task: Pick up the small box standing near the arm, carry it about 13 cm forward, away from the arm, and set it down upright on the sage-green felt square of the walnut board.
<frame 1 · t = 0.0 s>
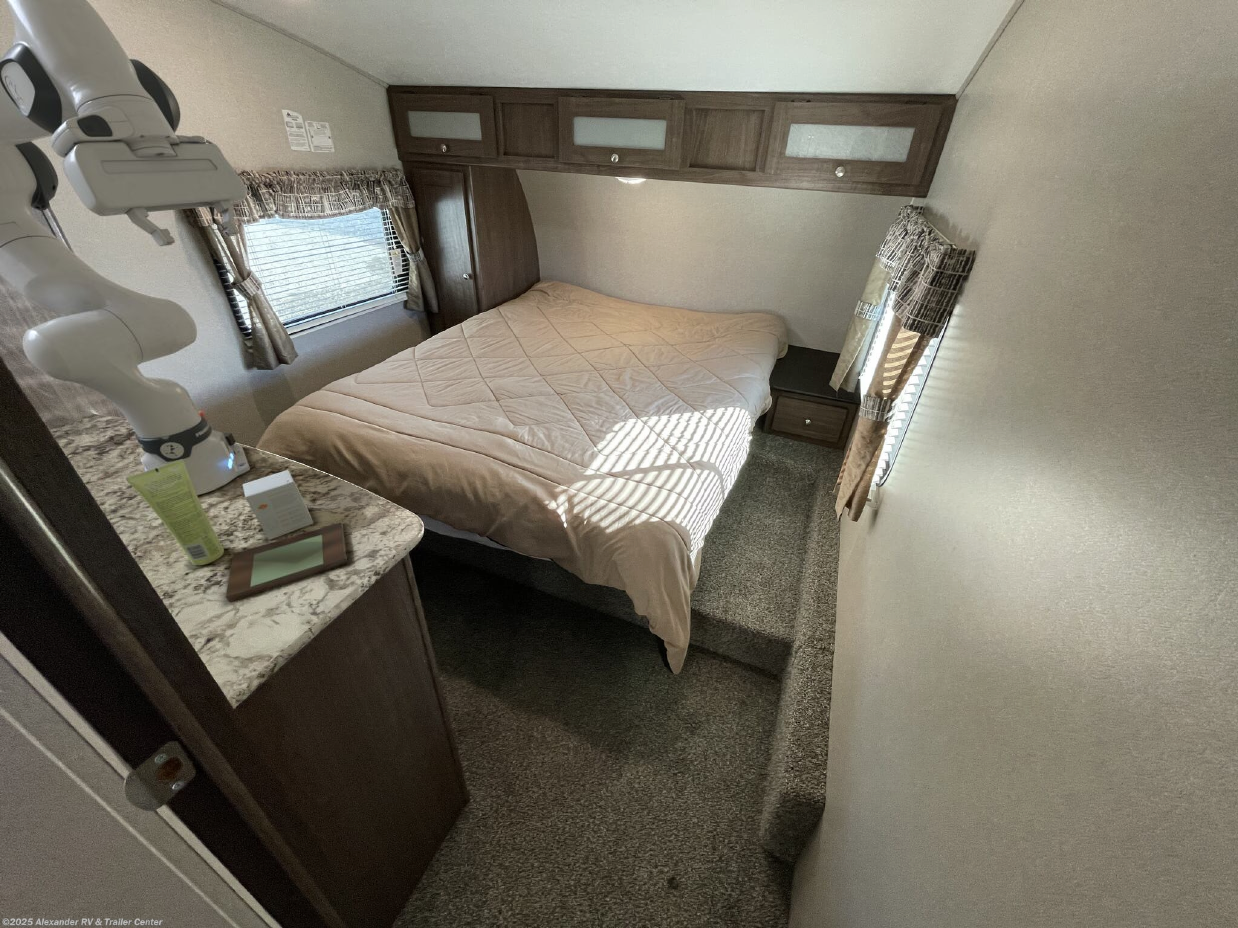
hand: (202, 239, 73), 52 cm above the dresser, tool tilted 20°, fingers open, 8 cm apart
small box: (289, 526, 98), on the dresser
walnut board: (291, 560, 89), on the dresser
tube: (210, 557, 91), on the dresser
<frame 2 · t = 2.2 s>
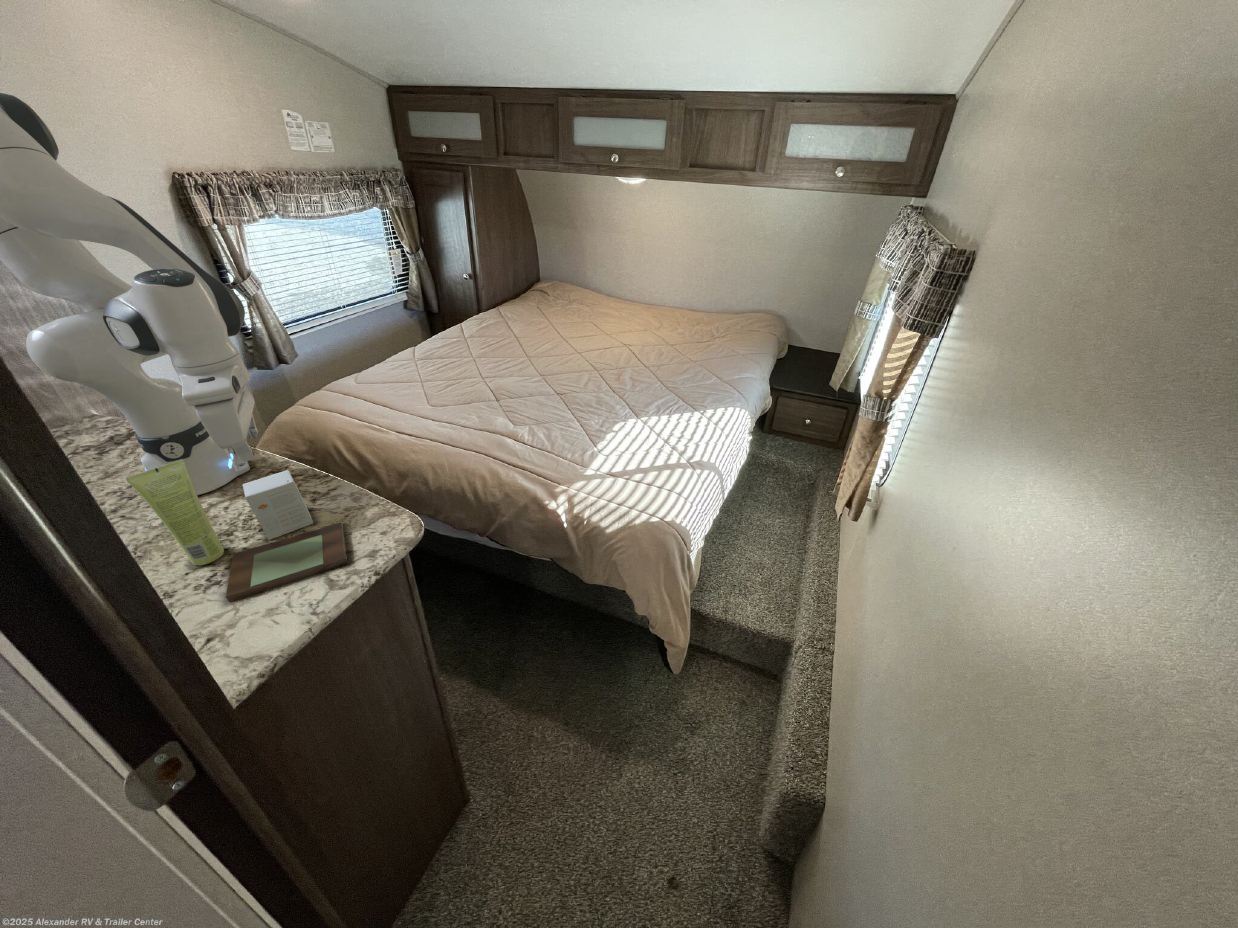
hand: (251, 447, 88), 18 cm above the dresser, tool pointing down, fingers open, 8 cm apart
nothing on the dresser moved.
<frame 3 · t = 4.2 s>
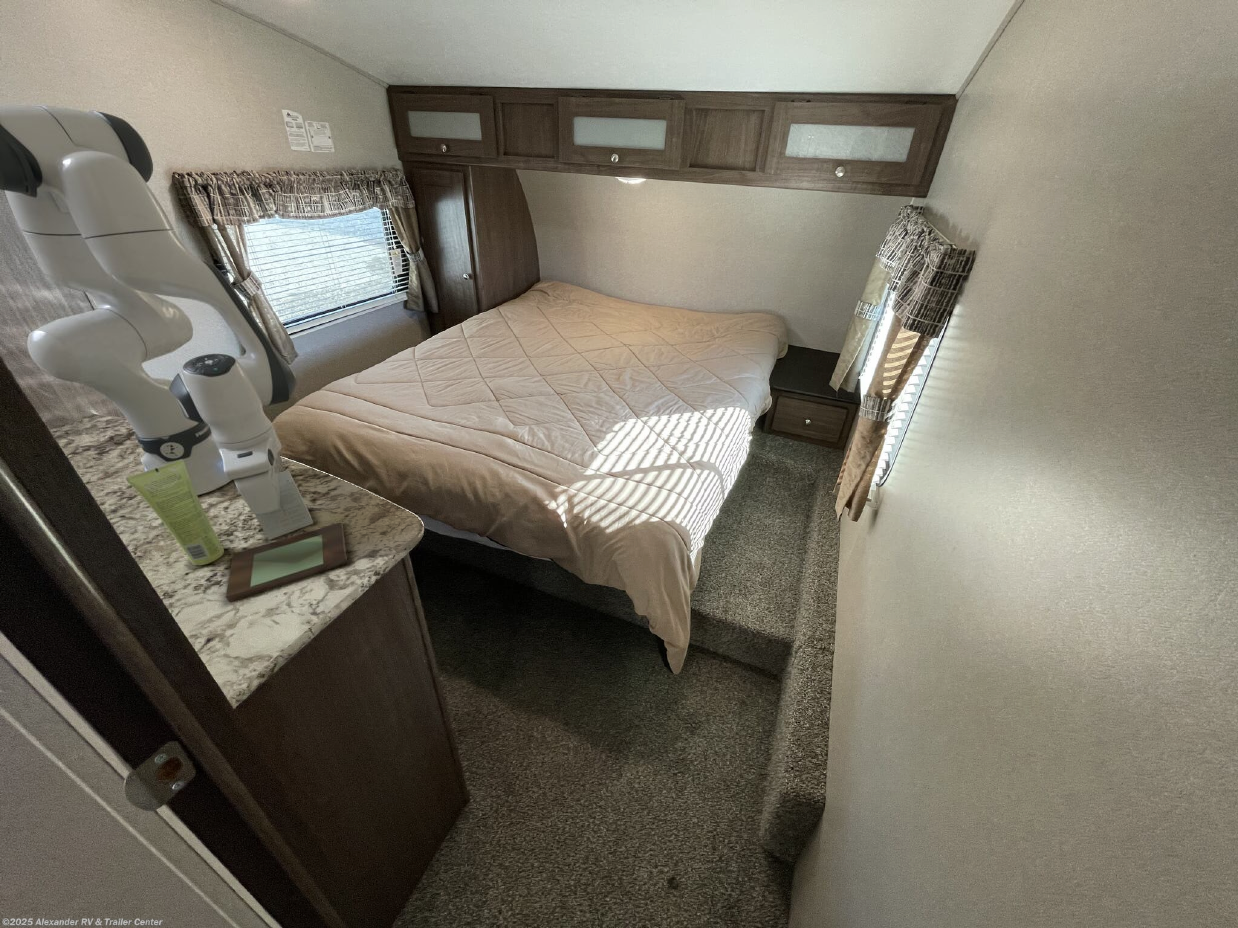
hand: (280, 506, 95), 5 cm above the dresser, tool pointing down, fingers closed on small box, 6 cm apart
small box: (289, 526, 98), on the dresser, touching gripper
everything else where it was.
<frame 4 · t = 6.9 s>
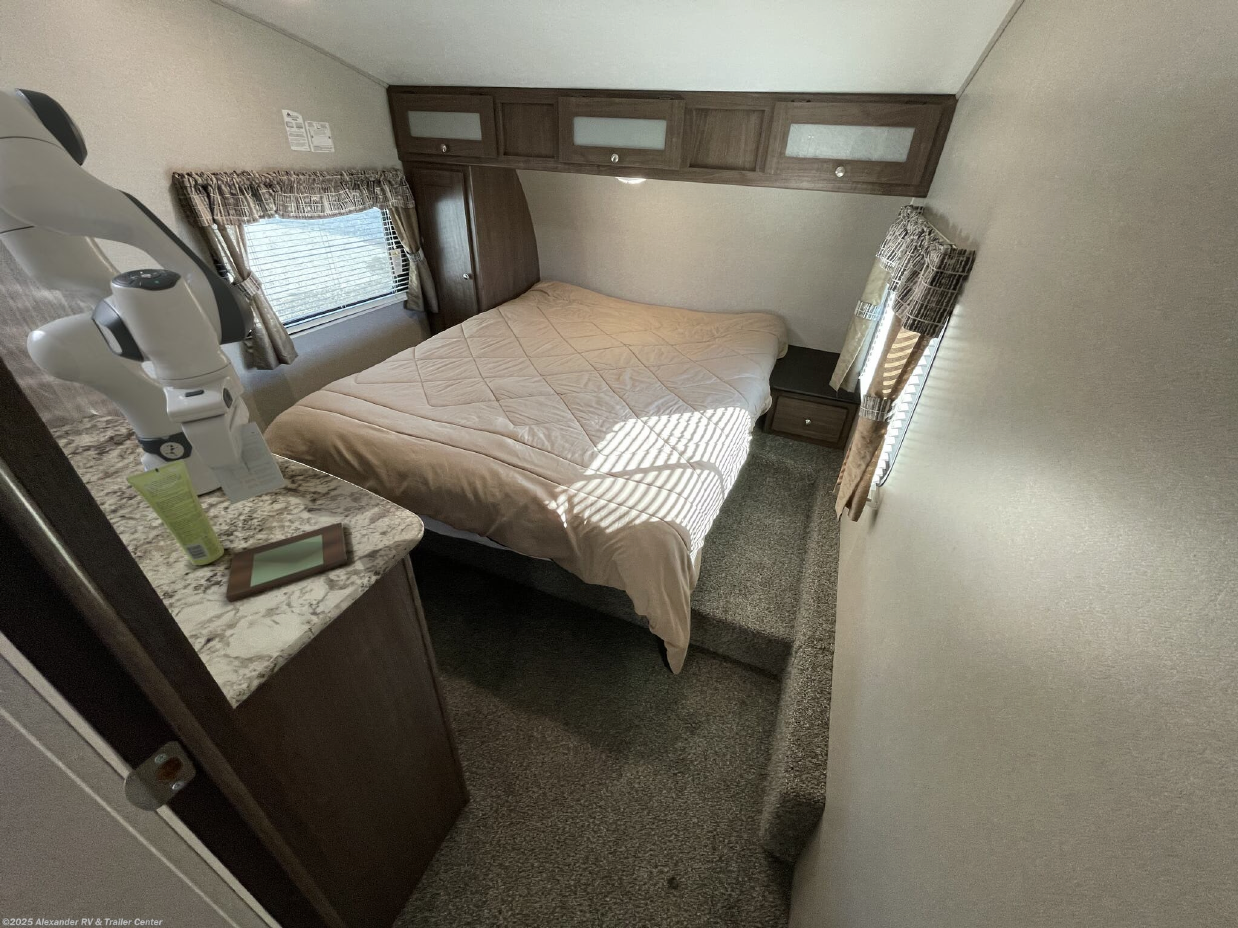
hand: (245, 465, 80), 20 cm above the dresser, tool pointing down, fingers closed on small box, 6 cm apart
small box: (258, 489, 83), point 15 cm above the dresser, touching gripper
everything else where it was.
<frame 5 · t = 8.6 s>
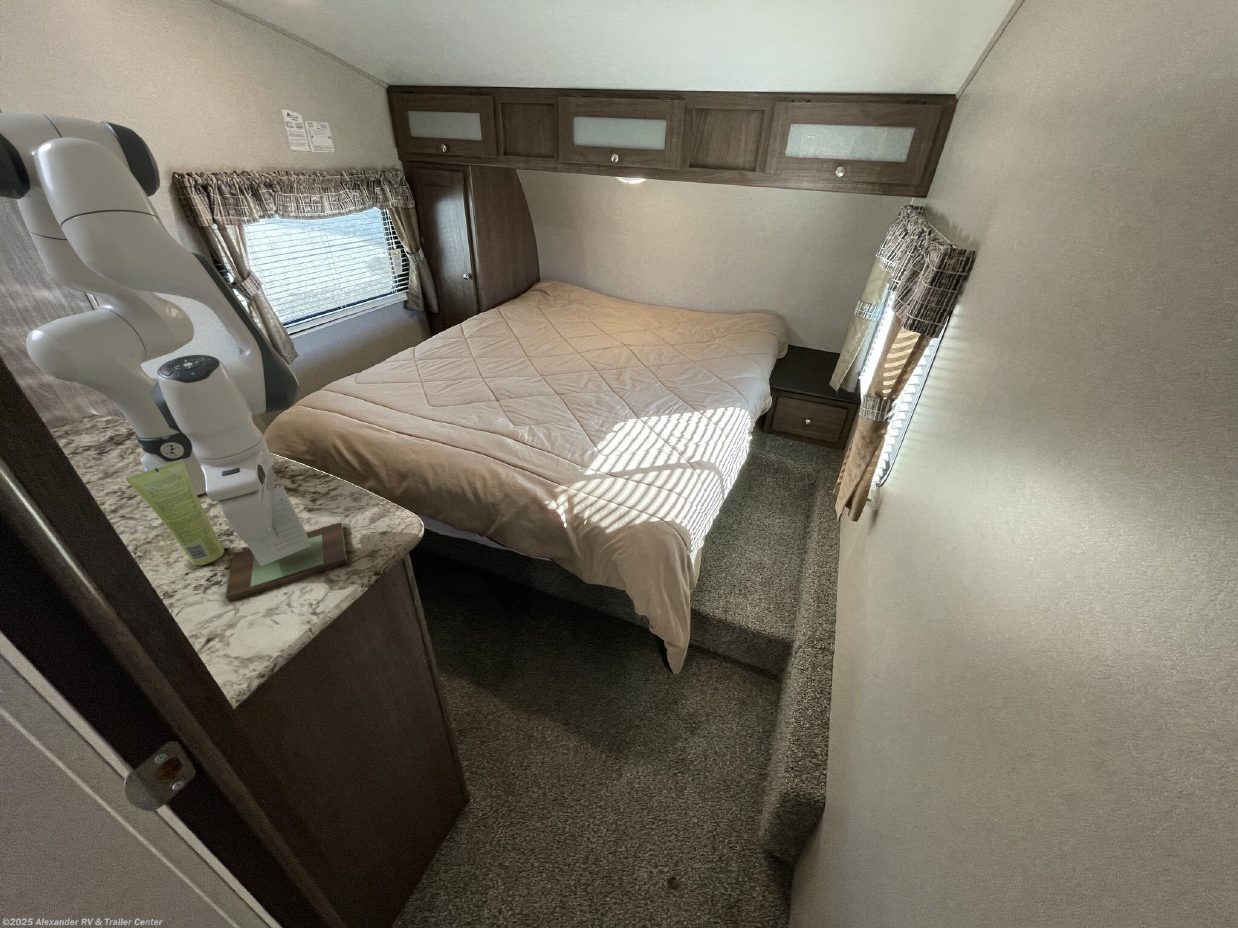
hand: (273, 528, 84), 8 cm above the dresser, tool pointing down, fingers closed on small box, 6 cm apart
small box: (284, 549, 87), point 3 cm above the dresser, touching gripper
everything else where it was.
when the fingers open (6 cm above the dresser, at t = 9.9 s): small box stays where it is, resting on walnut board.
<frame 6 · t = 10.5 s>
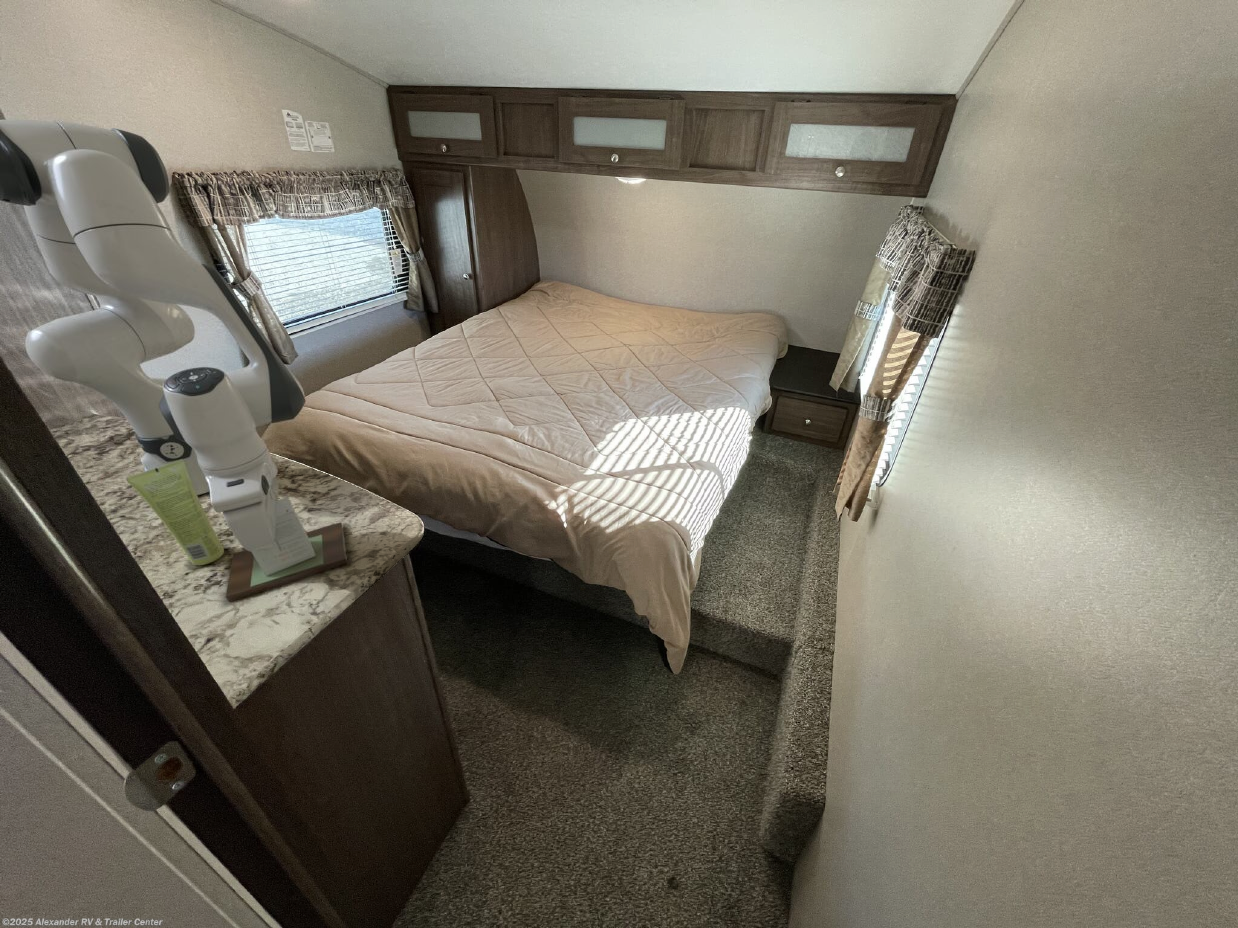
hand: (276, 537, 85), 6 cm above the dresser, tool pointing down, fingers open, 8 cm apart
small box: (289, 559, 88), point 1 cm above the dresser, touching walnut board
everything else where it was.
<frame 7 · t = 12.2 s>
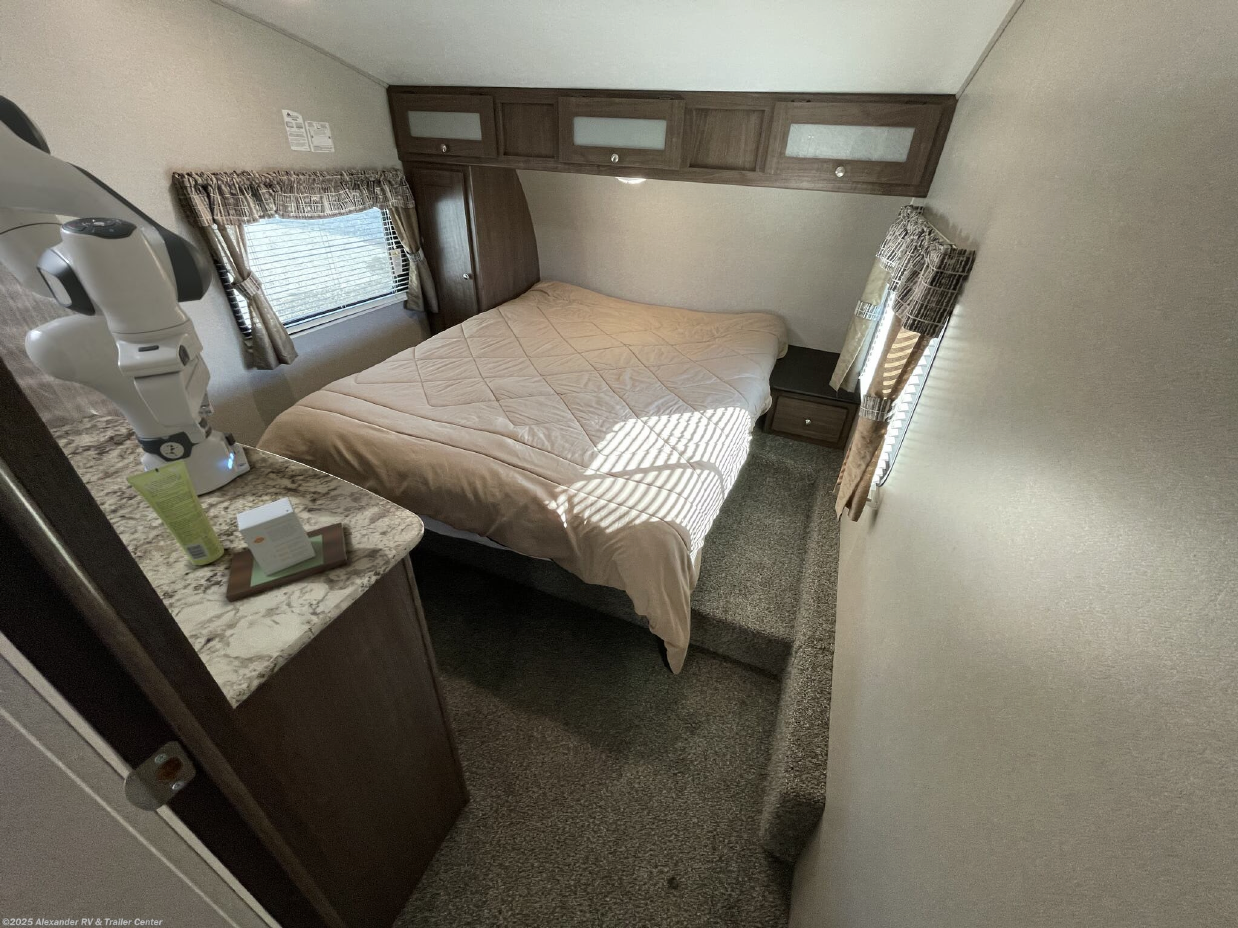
hand: (204, 427, 78), 26 cm above the dresser, tool pointing down, fingers open, 8 cm apart
nothing on the dresser moved.
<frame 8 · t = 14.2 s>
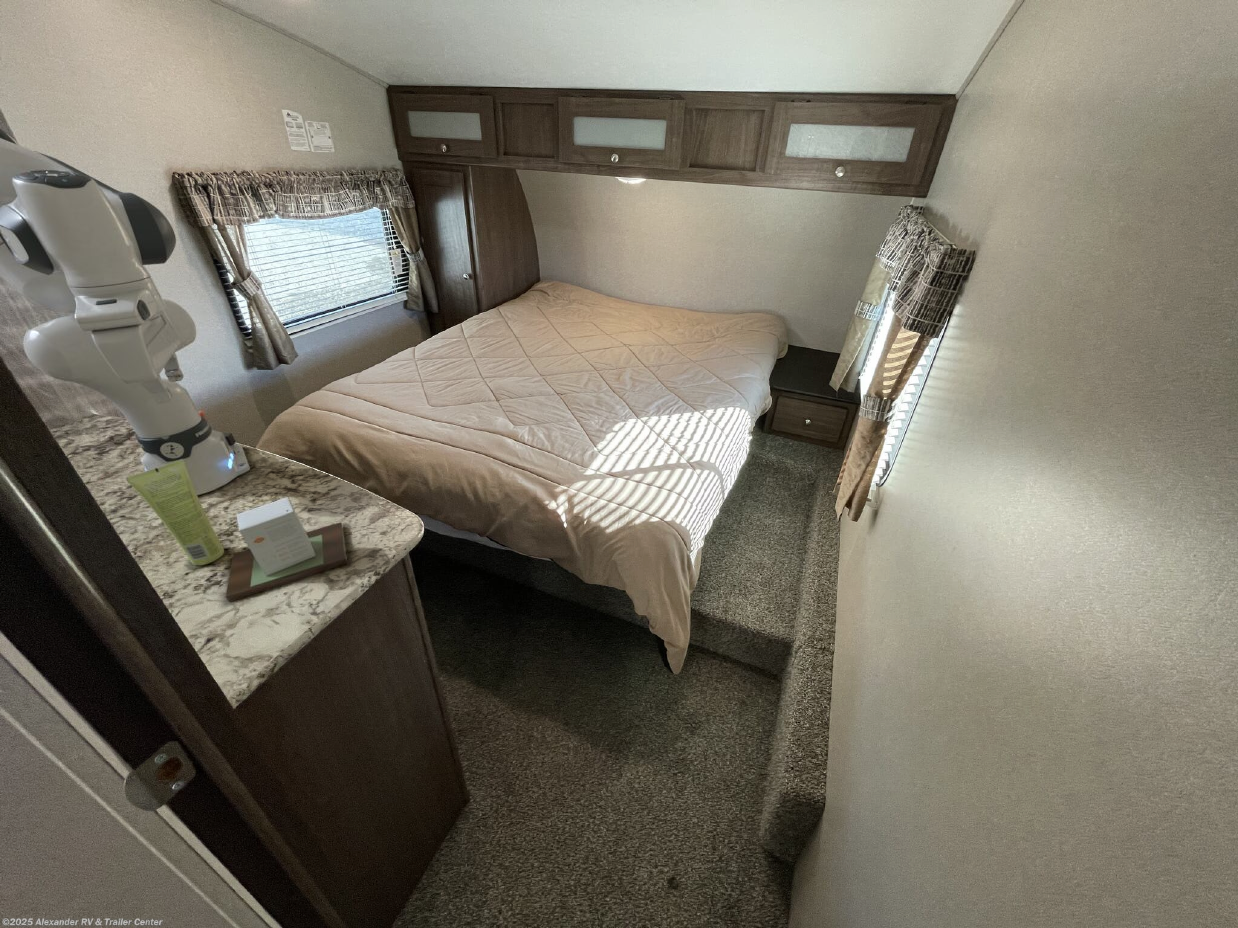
hand: (171, 390, 78), 31 cm above the dresser, tool pointing down, fingers open, 8 cm apart
nothing on the dresser moved.
at the end: small box inside the target area (0.1 cm from its centre), point 1.1 cm above the dresser; small box tilted 0°; the gripper is holding nothing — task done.
